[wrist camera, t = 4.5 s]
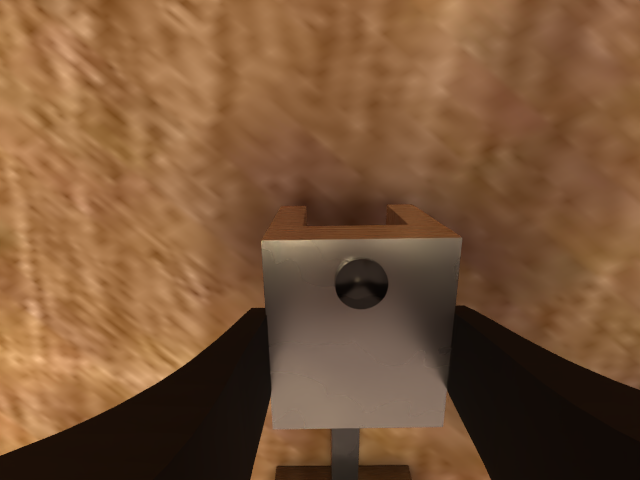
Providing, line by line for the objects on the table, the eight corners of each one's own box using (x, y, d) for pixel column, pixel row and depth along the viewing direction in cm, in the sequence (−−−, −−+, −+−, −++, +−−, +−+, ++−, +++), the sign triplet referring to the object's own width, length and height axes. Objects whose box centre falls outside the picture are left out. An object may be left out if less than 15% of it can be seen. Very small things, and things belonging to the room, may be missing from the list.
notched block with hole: (412, 204, 14) (465, 239, 9) (404, 337, 15) (445, 432, 10) (281, 206, 14) (259, 242, 9) (287, 339, 15) (272, 434, 10)
